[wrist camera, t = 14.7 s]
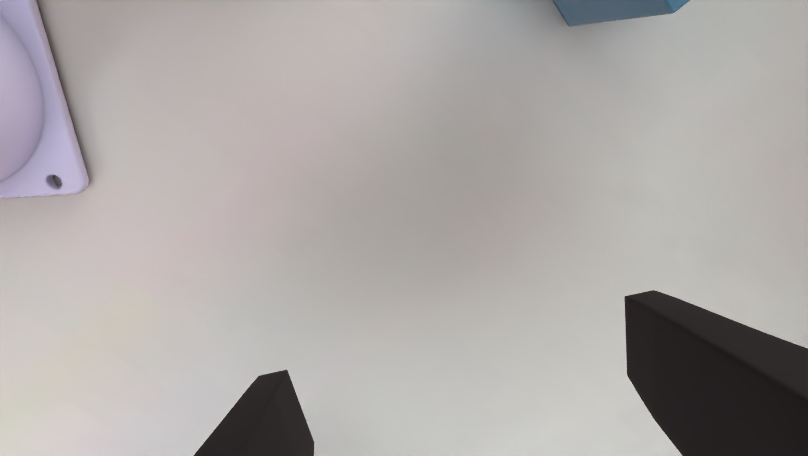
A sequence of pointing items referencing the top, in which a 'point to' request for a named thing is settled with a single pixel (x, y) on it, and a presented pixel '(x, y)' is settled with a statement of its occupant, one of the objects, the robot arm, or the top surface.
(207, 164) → the top surface
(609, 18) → the block
